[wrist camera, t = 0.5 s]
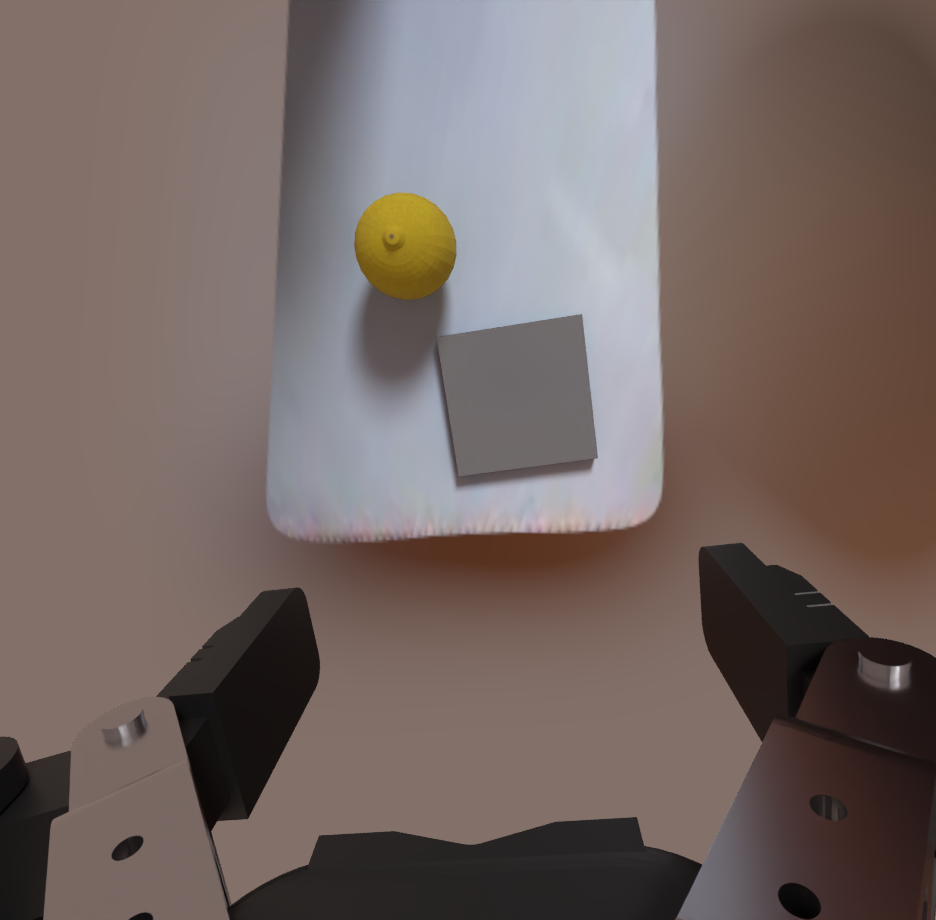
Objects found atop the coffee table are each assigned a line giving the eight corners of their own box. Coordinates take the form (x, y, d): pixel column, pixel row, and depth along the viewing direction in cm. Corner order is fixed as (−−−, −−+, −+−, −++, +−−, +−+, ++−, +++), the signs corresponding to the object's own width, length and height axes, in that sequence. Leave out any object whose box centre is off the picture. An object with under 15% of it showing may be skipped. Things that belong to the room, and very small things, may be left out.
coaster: (438, 336, 37) (436, 337, 36) (580, 314, 36) (582, 314, 36) (460, 472, 39) (458, 476, 38) (595, 454, 38) (597, 458, 37)
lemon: (461, 208, 36) (447, 174, 28) (462, 302, 37) (448, 294, 29) (372, 210, 36) (333, 177, 28) (375, 303, 37) (339, 295, 30)
